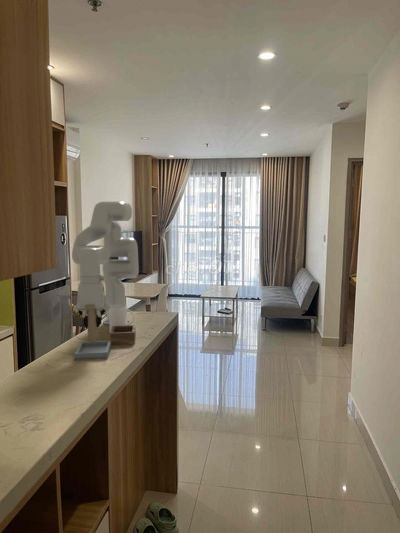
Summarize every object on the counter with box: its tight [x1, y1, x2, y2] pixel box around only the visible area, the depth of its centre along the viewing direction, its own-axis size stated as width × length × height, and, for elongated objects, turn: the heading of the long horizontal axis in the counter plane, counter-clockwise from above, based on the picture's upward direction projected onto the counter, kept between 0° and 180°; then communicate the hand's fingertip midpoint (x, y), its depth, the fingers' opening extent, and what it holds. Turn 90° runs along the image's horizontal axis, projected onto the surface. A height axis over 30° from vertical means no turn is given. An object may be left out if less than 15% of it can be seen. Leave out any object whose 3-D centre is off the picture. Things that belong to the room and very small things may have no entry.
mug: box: [108, 304, 135, 334], centre depth 179 cm, size 12×8×12 cm
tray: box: [73, 340, 112, 361], centre depth 152 cm, size 14×12×2 cm
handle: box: [85, 305, 99, 343], centre depth 151 cm, size 5×6×15 cm
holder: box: [109, 324, 137, 346], centre depth 167 cm, size 11×10×5 cm
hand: (92, 326), depth 151 cm, fingers closed on handle, 3 cm apart
